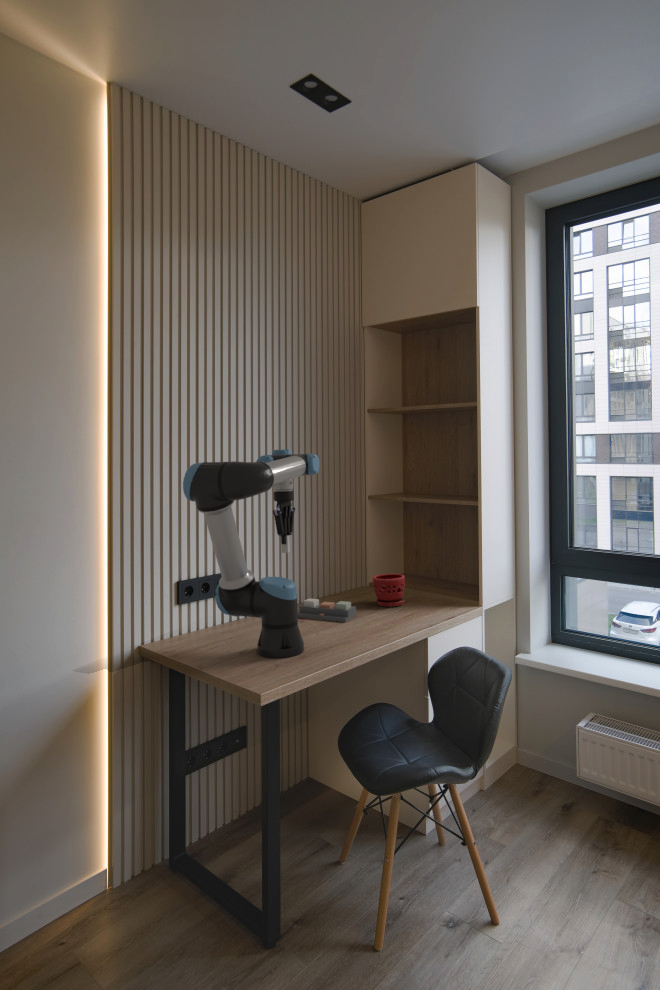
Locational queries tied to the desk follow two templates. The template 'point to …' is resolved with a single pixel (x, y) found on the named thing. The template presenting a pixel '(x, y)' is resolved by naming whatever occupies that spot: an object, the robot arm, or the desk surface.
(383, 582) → the plant pot
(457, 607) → the desk surface
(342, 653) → the desk surface
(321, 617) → the key console
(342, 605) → the sage key
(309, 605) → the ivory key
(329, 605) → the terracotta key
